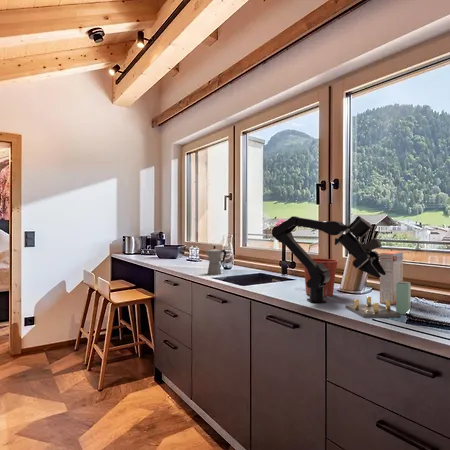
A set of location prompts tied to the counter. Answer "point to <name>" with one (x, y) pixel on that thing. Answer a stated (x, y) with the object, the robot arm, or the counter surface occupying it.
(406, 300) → the block
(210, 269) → the coffeepot
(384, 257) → the cracker box
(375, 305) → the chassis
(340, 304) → the counter surface
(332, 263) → the flower pot
